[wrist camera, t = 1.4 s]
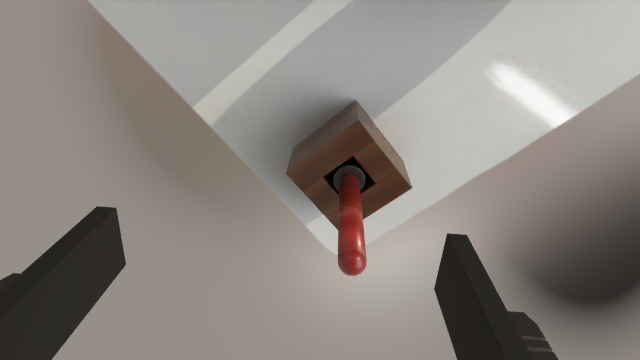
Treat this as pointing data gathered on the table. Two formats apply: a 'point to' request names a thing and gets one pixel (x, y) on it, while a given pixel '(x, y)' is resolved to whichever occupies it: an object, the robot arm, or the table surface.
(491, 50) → the table surface
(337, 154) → the holder
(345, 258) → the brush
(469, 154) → the table surface
